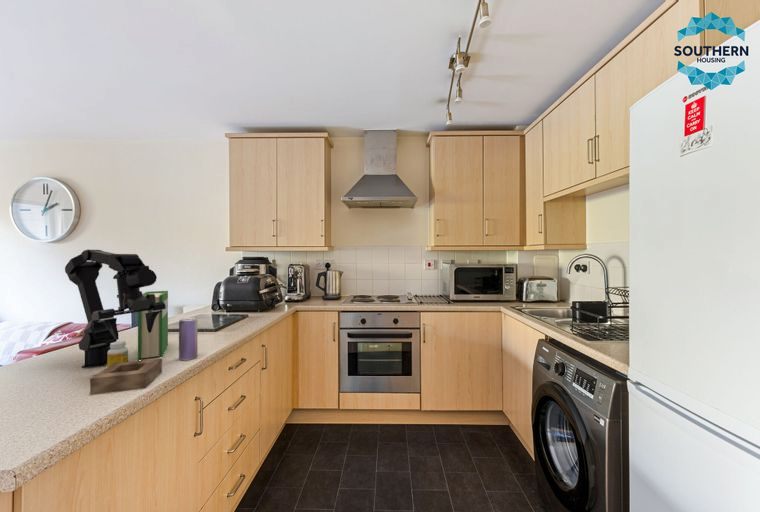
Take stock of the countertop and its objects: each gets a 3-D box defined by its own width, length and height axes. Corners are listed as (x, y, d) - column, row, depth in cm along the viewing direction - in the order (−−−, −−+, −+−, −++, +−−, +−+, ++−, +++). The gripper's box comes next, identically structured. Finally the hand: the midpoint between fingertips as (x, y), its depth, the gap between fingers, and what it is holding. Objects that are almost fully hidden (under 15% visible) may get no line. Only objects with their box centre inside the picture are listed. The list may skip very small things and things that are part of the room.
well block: (90, 394, 84) (90, 378, 84) (114, 376, 96) (114, 362, 96) (145, 388, 88) (145, 372, 88) (161, 371, 101) (161, 358, 101)
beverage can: (188, 361, 111) (188, 320, 111) (174, 360, 112) (175, 320, 112) (201, 356, 117) (201, 317, 117) (188, 355, 118) (188, 317, 118)
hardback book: (162, 357, 115) (162, 295, 115) (137, 360, 111) (137, 296, 111) (167, 345, 130) (167, 290, 130) (146, 348, 127) (146, 291, 127)
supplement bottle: (110, 369, 103) (110, 341, 103) (130, 367, 105) (130, 339, 105) (104, 375, 98) (104, 345, 98) (125, 372, 100) (125, 343, 100)
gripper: (103, 290, 90) (109, 342, 89) (171, 284, 106) (176, 328, 105) (88, 294, 95) (94, 344, 94) (155, 288, 112) (160, 329, 111)
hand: (134, 335), depth 101 cm, fingers open, 9 cm apart
